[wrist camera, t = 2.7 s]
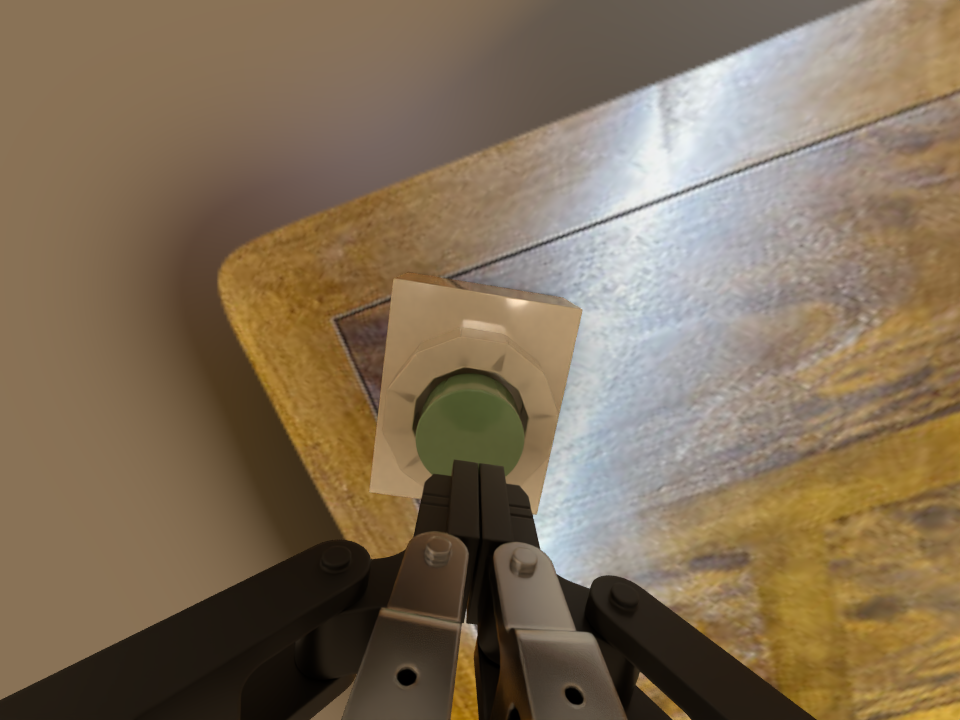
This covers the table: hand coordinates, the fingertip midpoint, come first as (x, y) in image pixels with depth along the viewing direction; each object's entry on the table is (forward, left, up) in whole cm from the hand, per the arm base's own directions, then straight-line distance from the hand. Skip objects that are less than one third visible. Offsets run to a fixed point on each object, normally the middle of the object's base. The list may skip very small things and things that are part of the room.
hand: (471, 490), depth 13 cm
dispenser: (0, 0, -11) cm, 11 cm away
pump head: (0, 0, -5) cm, 5 cm away
